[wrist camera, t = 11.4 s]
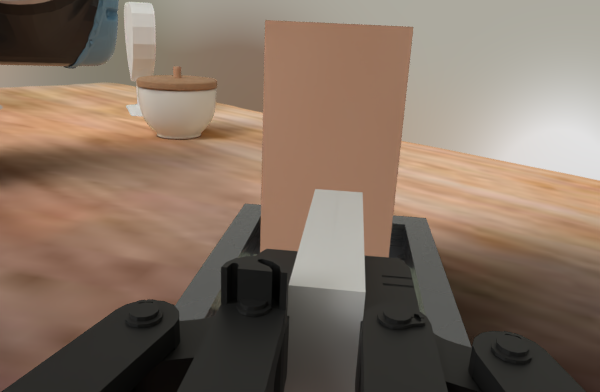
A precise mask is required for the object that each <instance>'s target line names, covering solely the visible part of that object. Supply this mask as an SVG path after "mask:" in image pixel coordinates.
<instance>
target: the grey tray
mask: <svg viewBox="0 0 600 392" xmlns="http://www.w3.org/2000/svg"><path fill="white" fill-rule="evenodd" d="M260 232H261V205H255V204H244V206H243V207H242V209H241V210H240V212H239V213H238V215H237V216H236V218H235V219H234V220H233V222H232V223H231V225H230V226H229V228H228V229H227V231H226V232H225V234H224V235H223V237H222V238H221V239H220V241H219V242H218V244H217V245H216V247H215V248H214V250H213V251H212V253H211V254H210V255H209V257H208V258H207V260H206V261H205V263H204V264H203V266H202V267H201V269H200V270H199V272H198V273H197V274H196V276H195V277H194V279H193V280H192V282H191V283H190V285H189V286H188V288H187V289H186V291H185V292H184V293H183V295H182V296H181V298H180V299H179V301H178V302H177V304H176V305H175V307H176V308H177V309H178V310H179V321H184V320H196V319H203V318H208V317H212V316H215V315H216V313H217V311H218V309H219V307H220V305H221V267H222V266H223V265H224V264H225V263H226V262H227V261H230V260H232V259H235V258H239V257H245V256H256V255H257V254H259V253H260ZM389 258H400V259H401V260H402V261H403V262H404V263H405V264H406V265H407V266H409V267H410V270H411V275H412V280H413V284H414V288H415V292H416V297H417V301H418V306H419V310H420V312H421V313H422V314H424V315H425V316H427V318H428V319H429V321H430V323H431V325H432V329H433V333H434V334H436V335H438V336H439V337H441V338H443V339H446V340H448V341H451V342H454V343H457V344H461V345H464V346H468V347H471V344H470V341H469V339H468V336H467V333H466V330H465V327H464V324H463V322H462V319H461V316H460V313H459V310H458V307H457V305H456V302H455V299H454V296H453V293H452V291H451V288H450V285H449V282H448V279H447V276H446V274H445V271H444V268H443V265H442V262H441V259H440V257H439V254H438V251H437V248H436V245H435V242H434V240H433V237H432V234H431V231H430V228H429V225H428V223H427V220H426V218H417V217H404V216H393V221H392V230H391V239H390V249H389ZM471 348H472V347H471Z"/></svg>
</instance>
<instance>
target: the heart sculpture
mask: <svg viewBox="0 0 600 392" xmlns="http://www.w3.org/2000/svg"><path fill="white" fill-rule="evenodd" d="M124 25H125V39H126V49H127V57H128V65H129V71H130V76H131V81H136V80H137V78H139V77H143V76H153V72H154V65H155V51H156V32H155V30H156V29H155V14H154V8H153V6H152V4H151V3H141V2H128V3H125V6H124ZM136 86H137V81H136ZM126 107H127V109H128V111H129V112H130V114H131V116H143V115H142V112H141V109H140V104H139V98H138V86H137V104H135V105H126Z"/></svg>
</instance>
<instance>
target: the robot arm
mask: <svg viewBox="0 0 600 392" xmlns="http://www.w3.org/2000/svg"><path fill="white" fill-rule="evenodd" d="M118 1H119V0H0V65H38V66H40V65H41V66H64V67H65V68H76V67H78V66H98V65H102V64H105V63H106V62H108V61H109V60H110V58H111V57H112V55H113V53H114V50H115V45H116V37H117V26H118V15H117V11H118ZM2 392H586V391H585V390H584V389H583V388H582V387H581V386H580V385H579V384H578V383H577V382H576V381H575V380H574V379H573V378H572V377H571V376H570V375H569V374H568V373H567V372H566V371H565V370H564V369H563V368H562V367H561V366H560V365H559V364H558V363H557V362H556V361H555V360H554V359H553V358H552V357H551V356H550V355H549V354H548V353H547V351H546V350H544V349H543V348H542V347H540V346H539V345H538V344H536V343H535V342H533V341H531V340H529V339H527V338H525V337H523V336H521V335H518V334H515V333H514V334H513V333H511V332H506V331H504V332H500V331H490V332H484V333H481V334H479V335H478V336H476V337H475V338H474V341H473V345H472V348H471V347H468V346H464V345H461V344H457V343H454V342H451V341H448V340H446V339H443V338H441V337H439V336H438V335H436V334H434V333H433V329H432V325H431V323H430V321H429V319H428V318H427V316H425V315H424V314H422V313H421V312H420V310H419V306H418V301H417V297H416V292H415V288H414V284H413V280H412V275H411V270H410V267H409V266H407V265H406V264H405V263H404V262H403V261H402V260H401V259H400V258H388V257H376V256H365V255H364V223H363V192H350V191H336V190H323V189H315V192H314V195H313V199H312V203H311V206H310V210H309V213H308V217H307V221H306V224H305V228H304V231H303V235H302V239H301V242H300V246H299V249H298V251H289V250H277V249H265V250H264V251H262V252H260V253H259V254H257V255H256V256H245V257H239V258H235V259H232V260H230V261H227V262H226V263H225V264H224V265H223V266H222V267H221V305H220V307H219V309H218V311H217V313H216V315H215V316H212V317H208V318H203V319H196V320H184V321H179V310H178V309H177V308H176V307H175V306H174V305H172V304H170V303H167V302H165V301H157V300H139V301H137V302H133V303H130V304H126V305H124V306H122V307H121V308H119V309H117V310H115V311H114V312H112V313H111V314H109V315H108V316H107V317H105V318H104V319H102V320H101V321H100V322H98V323H97V324H95V325H94V326H93V327H91V328H90V329H88V330H87V331H86V332H84V333H83V334H82V335H80V336H79V337H77V338H76V339H75V340H73V341H72V342H70V343H69V344H68V345H66V346H65V347H63V348H62V349H61V350H59V351H58V352H56V353H55V354H54V355H52V356H51V357H49V358H48V359H47V360H45V361H44V362H42V363H41V364H40V365H38V366H37V367H35V368H34V369H33V370H31V371H30V372H28V373H27V374H26V375H24V376H23V377H21V378H20V379H19V380H17V381H16V382H14V383H13V384H12V385H10V386H9V387H7V388H6V389H5V390H3V391H2Z"/></svg>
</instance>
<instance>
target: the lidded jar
mask: <svg viewBox="0 0 600 392" xmlns="http://www.w3.org/2000/svg"><path fill="white" fill-rule="evenodd" d="M173 74H174V75H156V76H143V77H139V78H137V80H136V81H137V86H138V98H139V104H140V109H141V112H142V115H143V117H144V119H145V121H146V123H147V124H148V125H149V126H150V128H151V129H153V130H154V131H155V132H156V133H157V136H159V137H162V138H168V139H190V138H196V137H199V136H201V132H203V131H204V130H205V129H206V128H207V127H208V125H209V124H210V122H211V121H212V118H213V116H214V112H215V107H216V88H217V81H216V80H215V79H212V78H207V77H198V76H183V75H181V67H179V66H176V67H173Z"/></svg>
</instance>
